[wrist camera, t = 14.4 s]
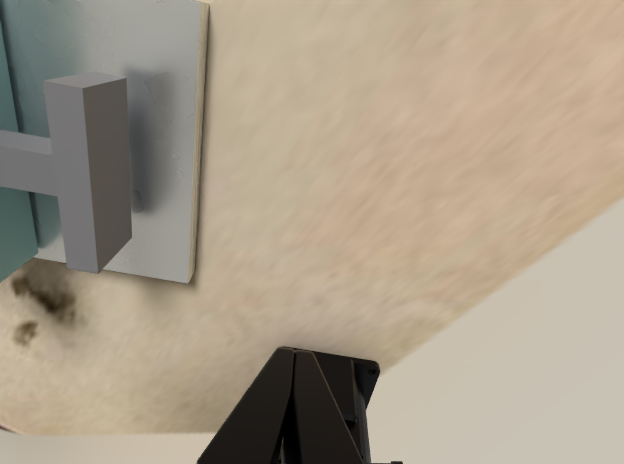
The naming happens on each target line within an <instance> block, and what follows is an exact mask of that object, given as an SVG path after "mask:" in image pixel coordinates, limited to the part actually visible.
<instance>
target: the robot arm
mask: <svg viewBox="0 0 624 464" xmlns="http://www.w3.org/2000/svg"><path fill="white" fill-rule="evenodd" d="M370 369H373V370H370ZM379 374H380V367H379V364H378V363H377V362H375V361H370V360H364V359H358V358H352V357H346V356H340V355H333V354H327V353H321V352H315V351H309V350H303V349H297V348H290V347H278V348H277V349H276V350H275V352H274V353H273V354H272V356H271V357H270V359H269V360H268V361H267V363H266V364H265V366H264V367H263V368H262V370H261V371H260V373H259V374H258V376H257V377H256V378H255V380H254V381H253V383H252V384H251V385H250V387H249V388H248V390H247V391H246V393H245V394H244V395H243V397H242V398H241V400H240V401H239V402H238V404H237V405H236V407H235V408H234V409H233V411H232V412H231V414H230V415H229V417H228V418H227V419H226V421H225V422H224V424H223V425H222V426H221V428H220V429H219V431H218V432H217V433H216V435H215V436H214V438H213V439H212V441H211V442H210V444H209V445H208V446H207V448H206V449H205V450H204V452H203V453H202V455H201V457H200V458H199V459H198V460H197V464H387V463H371V457H370V448H369V439H368V428H367V418H366V409H367V406H368V403H369V401H370V398H371V395H372V392H373V390H374V387H375V385H376V382H377V379H378V377H379ZM388 464H403V463H402V461H399V462H397V461H392V462H391V463H388Z"/></svg>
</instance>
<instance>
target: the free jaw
mask: <svg viewBox="0 0 624 464" xmlns="http://www.w3.org/2000/svg"><path fill="white" fill-rule="evenodd" d="M43 86H44V94H45V101H46V109H47V117H48V125H49V132H50V138H45V137H39V136H34V135H29V134H23V133H19V132H18V126H17V120H16V113H15V107H14V101H13V95H12V89H11V83H10V77H9V71H8V65H7V59H6V53H5V47H4V41H3V35H2V29H1V23H0V282H1V281H3V280H4V279H5V278H7V277H8V276H9V275H10V274H12V273H13V272H14V271H16V270H17V269H18V268H20V267H21V266H22V265H23V264H25V263H26V262H27V261H29V260H30V259H31V258H32V257H34V256H35V255H36V254H38V253H39V252H38V246H37V240H36V234H35V228H34V222H33V216H32V210H31V204H30V198H29V192H28V191H30V192H35V193H41V194H47V195H52V196H58V202H59V210H60V218H61V226H62V233H63V241H64V249H65V257H66V264H67V269H73V270H79V271H85V272H91V273H97V274H98V273H99V272H100V271H101V270H102V269H103V268H104V267H105V266H106V265H107V264H108V263H109V262H110V261H111V260H112V258H113V257H114V256H115V255H116V254H117V253H118V252H119V251H120V250H121V249H122V248H123V247H124V246H125V245H126V244H127V242H128V241H129V240H130V239H131V238H132V220H131V191H130V162H129V133H128V104H127V78H126V77H121V76H115V75H110V74H105V73H100V72H95V71H94V72H88V73H82V74H77V75H71V76H65V77H60V78H54V79H48V80H43Z"/></svg>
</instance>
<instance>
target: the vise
mask: <svg viewBox="0 0 624 464" xmlns="http://www.w3.org/2000/svg"><path fill="white" fill-rule="evenodd" d="M208 15H209V4H207V3H203V2H198V1H194V0H0V23H1V29H2V35H3V41H4V47H5V53H6V59H7V65H8V71H9V77H10V83H11V89H12V95H13V101H14V107H15V113H16V120H17V126H18V132H19V133H23V134H29V135H34V136H39V137H45V138H50V132H49V125H48V117H47V109H46V101H45V94H44V86H43V80H48V79H54V78H60V77H65V76H71V75H77V74H82V73H88V72H94V71H95V72H100V73H105V74H110V75H115V76H121V77H126V78H127V104H128V133H129V162H130V191H131V220H132V238H131V239H130V240H129V241H128V242H127V244H126V245H125V246H124V247H123V248H122V249H121V250H120V251H119V252H118V253H117V254H116V255H115V256H114V257H113V258H112V260H111V261H110V262H109V263H108V264H107V265H106V266H105V267H104V268H103V269H105V270H111V271H116V272H122V273H128V274H134V275H140V276H146V277H152V278H158V279H164V280H170V281H175V282H181V283H187V284H188V282H189V281H190V279H191V277H192V275H193V273H194V271H195V257H196V238H197V220H198V201H199V182H200V164H201V145H202V126H203V108H204V89H205V71H206V52H207V33H208ZM28 192H29V198H30V204H31V210H32V216H33V222H34V228H35V234H36V240H37V246H38V252H39V253H38V254H36V255H35V256H34V258H40V259H46V260H51V261H57V262H63V263H66V257H65V249H64V241H63V233H62V226H61V218H60V210H59V202H58V196H52V195H47V194H41V193H35V192H30V191H28Z"/></svg>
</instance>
